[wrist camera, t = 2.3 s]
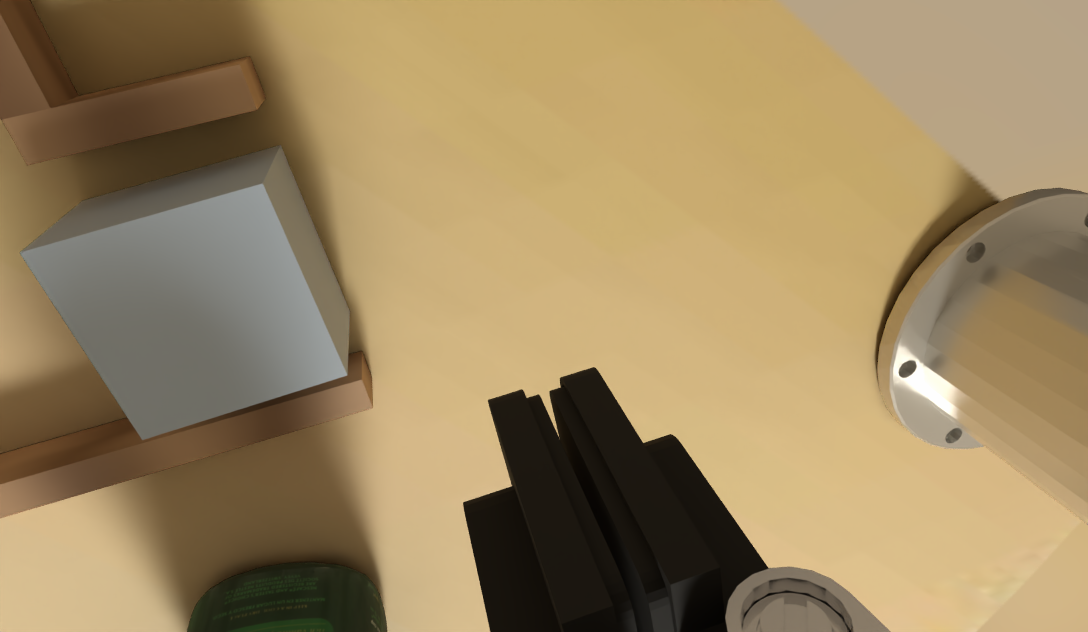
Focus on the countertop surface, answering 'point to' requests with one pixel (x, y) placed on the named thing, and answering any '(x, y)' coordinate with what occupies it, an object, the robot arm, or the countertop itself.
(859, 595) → the countertop surface
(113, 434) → the brown wooden open frame
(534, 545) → the robot arm
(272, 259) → the slate block
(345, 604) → the coffee jar
